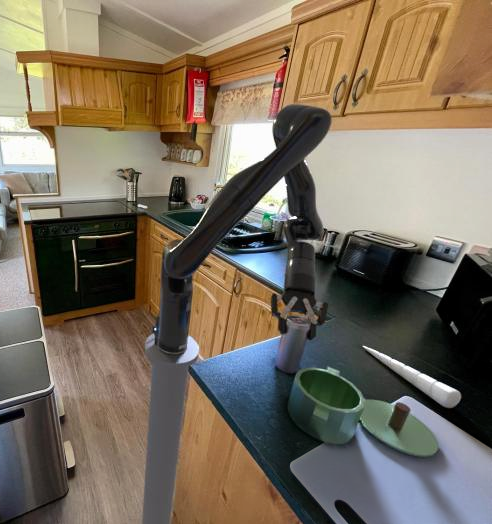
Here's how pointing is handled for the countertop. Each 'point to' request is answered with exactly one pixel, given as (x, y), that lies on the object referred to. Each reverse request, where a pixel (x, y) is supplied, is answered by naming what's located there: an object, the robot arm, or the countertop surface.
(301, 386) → the pot
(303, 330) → the beverage can
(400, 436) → the pot lid
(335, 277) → the countertop surface
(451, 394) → the unicorn horn
